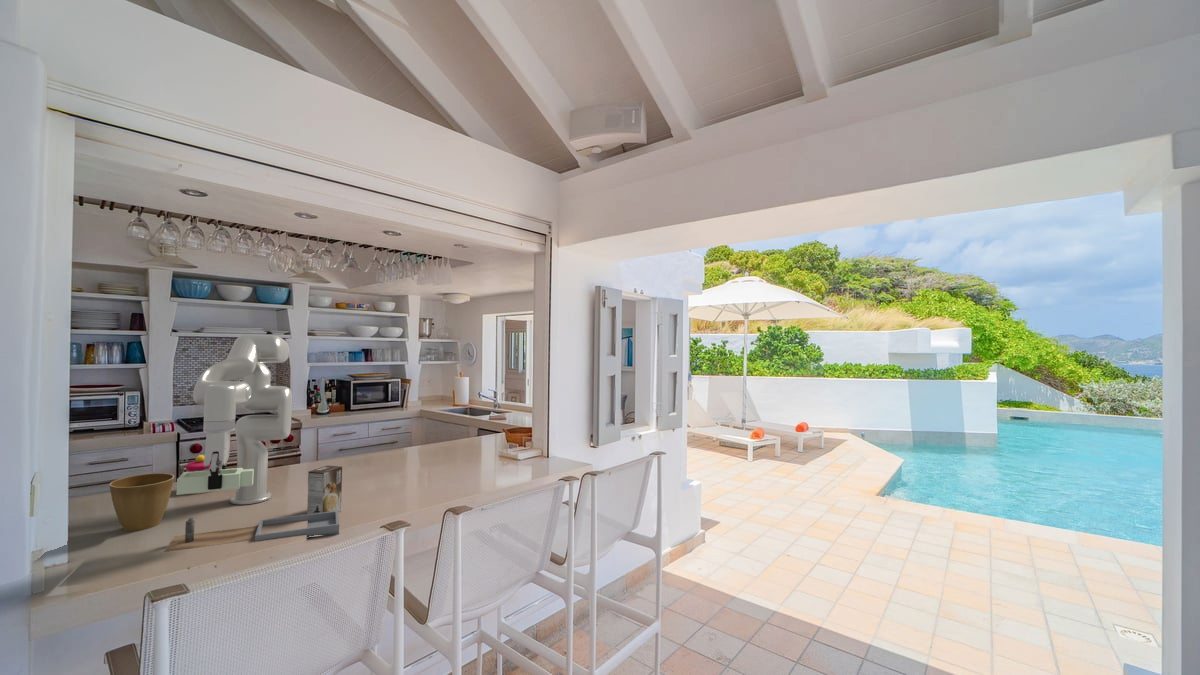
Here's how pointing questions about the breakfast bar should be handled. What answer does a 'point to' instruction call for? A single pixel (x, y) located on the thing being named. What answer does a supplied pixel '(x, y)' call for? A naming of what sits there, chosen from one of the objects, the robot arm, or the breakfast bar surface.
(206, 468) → the cake
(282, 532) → the tray
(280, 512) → the breakfast bar surface
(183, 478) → the collar
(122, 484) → the plant pot
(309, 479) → the coffee box
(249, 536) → the board
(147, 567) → the breakfast bar surface
